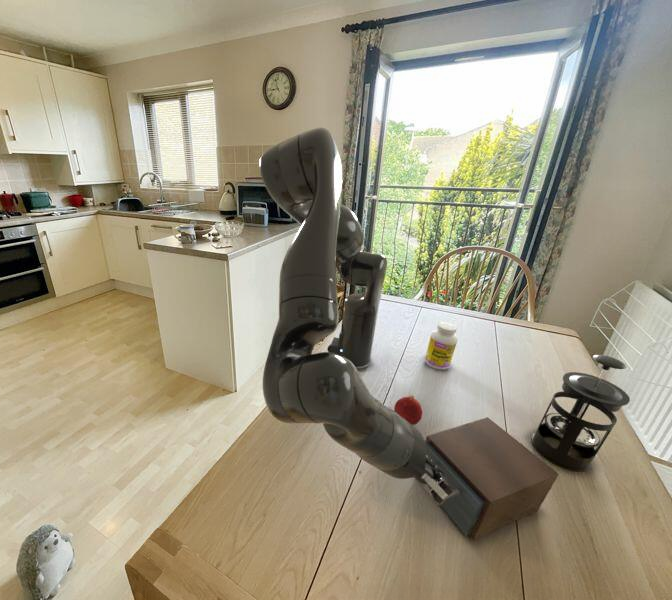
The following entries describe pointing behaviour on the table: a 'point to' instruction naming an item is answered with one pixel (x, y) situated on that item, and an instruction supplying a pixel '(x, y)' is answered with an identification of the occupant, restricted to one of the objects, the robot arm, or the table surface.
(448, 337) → the supplement bottle
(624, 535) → the table surface
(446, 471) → the drawer
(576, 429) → the french press
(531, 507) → the cabinet
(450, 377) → the table surface
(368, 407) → the robot arm
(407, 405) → the red round piece
